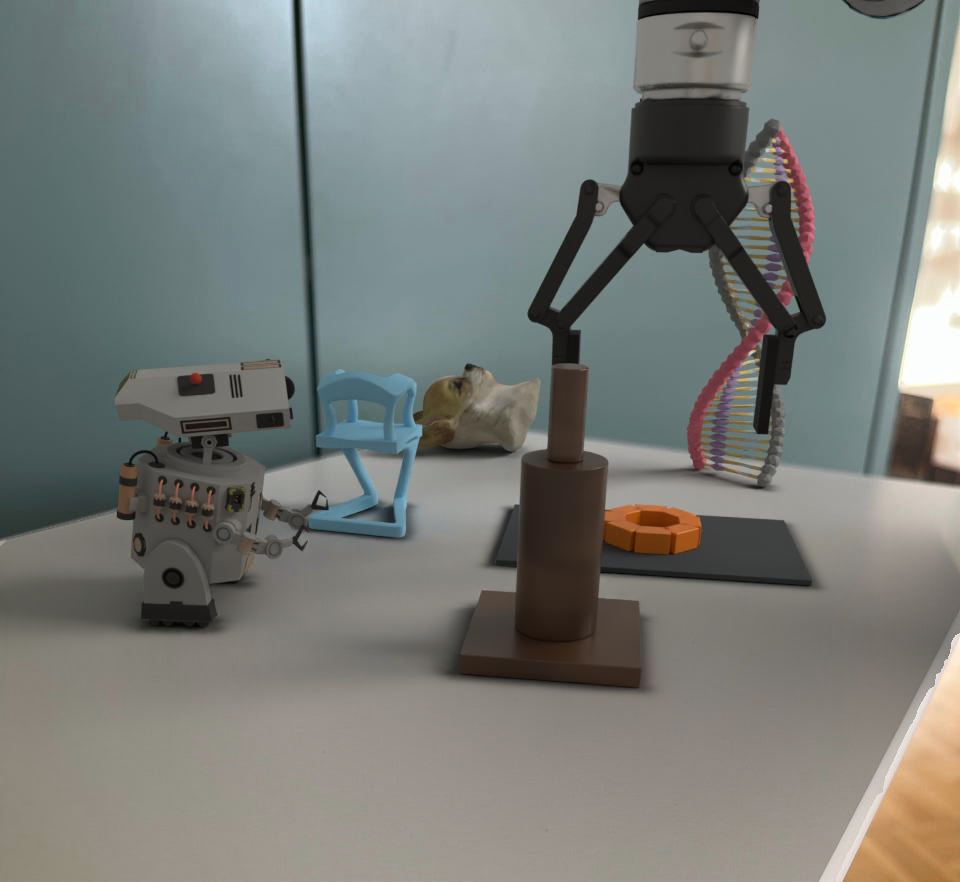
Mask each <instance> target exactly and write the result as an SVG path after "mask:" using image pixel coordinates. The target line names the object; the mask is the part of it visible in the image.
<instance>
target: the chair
mask: <svg viewBox="0 0 960 882" xmlns="http://www.w3.org/2000/svg"><path fill="white" fill-rule="evenodd" d="M417 386H418V382H417V381H415V380H414V379H413V378H412V377H409V376H406V375H404V374H402V373H399V372H397V373H393V374H392V375H390V376H380V375H378V374H377V375H376V374H375V373H374V374H373V373H370V372H366V371H362V370H350V371H345V370H344V369H342V368H340V369H336V370H333V371H330V372H328V373H327V374H325V375H324V376H323V377H322V378H321V379H320V382H319V383H318V386H317V388H316V391H317V393H318V396H319V399H320V402H321V405H322V407H323V411H324V414H325V426H324V430H323V431H322V432H319V433H318V434H316V435H315V446H316V448H323V449H340V450H341V452H342V453H343V455H344V457H345V459H346V460H347V462H348V464H349V466H350V468H351V469H352V472H353V473H354V475H355V477H356V479H357V481H358V484H359V485H360V487H361V489H362V490H363V494H361V495H360V496H357V497H354V498H352V499H349V500H347V501H344V502H341V503H337V504H335V505H331V506H328V507H329V510H317V511H316V512H313V513H310V514H309V515H308V528H309V529H312V530H319V531H328V532H336V533H337V532H338V533H349V534H356V535H357V534H358V535H367V536H375V537H376V536H377V537H386V538H397V539H400V538H403V537H404V536H406V532H407V515H406V512H407V511H406V510H407V507H408V501H407V500H408V499H407V495H408V490H409V485H410V481H411V478H412V472H413V467H414V463H415V459H416V456H417V455H416V454H417V450H418V448H419V447H418V443H419V439H420V437H421V436H422V425H418V424H415V422H414V419H413V414H414V413H413V411H414V403H415V400H416V396H417ZM405 394H407V396H406V398H405V401H404V404H403V407H402V412H401V416H402V422H403V423H395V411H396V408H397V407H396V406H397V405H398V403H399V402H400V401H401V399H402V398H403V396H404V395H405ZM339 401H346V402H347V413H346V414H347V415H346V418H345V419H343V420H342V421H340V422H338V419H337V418H338V417H337V414H336V411H335V410H334V407H333V405H332V402H339ZM358 401H365V402H370V403H374V404H376V405H377V404H378V405H381V406H383V407H385V412H384V416H383V422H375V421H371V420H363V419H359V407H358ZM412 413H413V414H412ZM358 449H359V450H367V451H372V452H374V453H375V452H376V453H382V454H393V455H398V454H399V453H400V452H402V460H401V466H400V470H399V475H398V479H397V483H396V487H395V491H394V495H393V501H392V502H393V503H392V504H393V518H394V522H386V521H385V522H384V521H375V520H374V521H373V520H366V519H356V518H355V519H354V518H345V517H348V516H352V515H354V514H357V513H360V512H362V511H365V510H368V509H370V508H372V507H375V506H377V505H378V504H379V494H378V491H377V488H376V487H375V485H374V483H373V481H372V479H371V477H370V475H369V473H368V471H367V469H366V468H365V466H364V465H365V464H364V463H363V462H362V459H361V457H360V455H359V452H358Z"/></svg>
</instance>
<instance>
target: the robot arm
mask: <svg viewBox="0 0 960 882" xmlns="http://www.w3.org/2000/svg"><path fill="white" fill-rule="evenodd" d="M760 1H761V0H638V8H637V21H636V24H635V25H636V26H635V28H636V29H635V43H634V44H635V45H634V48H635V49H634V60H633V61H634V63H633V79H632V80H633V81H632V89H633V91H635V93H637V94H640V95H641V98H639V101H638V102H635V103H634V107H632V108H631V111H630V127H629V128H630V129H629V131H630V132H629V145H628V147H629V148H628V161H627V162H628V163H627V174H626V178H625V179H624V181H623V183H622V185H617V184H609V183H602V182H597V181H596V180H594V179H591V178H590V179H586V180H584V181H583V182H582V183H581V185H580V188H579V192H578V193H579V195H578V200H577V208H576V214H575V217H574V219H573V220H572V222H571V224H570V226H569V228H568V230H567V232H566V234H565V237H564V239H563V240H562V243H561V244H560V246H559V248H558V249H557V250H558V251H557V252H556V254H555V256H554V258H553V260H552V262H551V264H550V266H549V268H548V270H547V272H546V274H545V276H544V278H543V279H542V281H541V284H540V286H539V288H538V290H537V291H536V293H535V296H534V298H533V300H532V301H531V303H530V306H529V307H528V309H527V312H526V315H527V318H528V320H529V321H530V322H531V323H534V324H538V325H541V326H543V327H546V328H547V329H549V331H550V332H551V336H552V343H551V344H552V345H551V366H552V365H555V364H562V363H571V364H580V363H581V362H580V361H581V360H580V359H581V339H582V337H581V336H582V330H581V329H572V326H573V325H574V324H575V323H576V321H577V320H578V319H579V318H580V317H581V315H582V314H583V313H584V312H585V311H586V310H587V309H588V307H590V305H591V304H592V303H593V302H594V301H595V299H597V297H599V295H600V294H601V293H602V292H603V290H604V289H605V288H606V287H607V286H608V285H609V283H610V282H611V281H612V280H613V279H614V278H615V277H616V276H617V274H618V273H619V272H620V271H621V270H622V269H623V268H624V266H625V265H626V264H628V262H629V261H630V260H631V258H633V257H634V256H635V254H636V253H638V251H639V250H640V248H642V247H643V245H645V246H646V248H648V249H649V250H651V251H653V252H655V253H666V254H667V253H672V252H675V251H679V250H680V251H683V252H687V253H690V254H703V253H704V252H707V251H709V249H711V248H712V247H713V246H714V245H716V246H717V248H718V249H719V250H720V252H721V253H722V255H723V256H724V257H723V258H724V260H726V262H728V263H729V264H730V266H729V267H731V269H732V270H733V272H735V273H736V274H737V276H736V277H738V278H739V281H742V283H743V284H744V285H743V286H744V287H745V288H746V290H748V291H749V293H750V294H751V295H750V294H749V295H750V296H751V297H752V298H753V301H756V302H757V304H758V305H759V307H760V308H759V307H758V308H759V309H760V310H762V311H763V312H764V314H765V315H766V317H767V318H768V319H769V321H770V322H771V324H772V327H773V328H774V329H775V331H774V334H768V333H767V334H763V339H762V341H761V342H762V343H761V344H762V351H761V359H760V368H759V372H758V376H757V377H758V381H757V386H756V387H757V390H756V394H755V395H756V399H755V407H754V411H753V413H754V416H753V425H752V427H753V430H755V431H756V433H757V434H756V435H765V436H766V435H768V436H769V434H768V431H770V430H769V429H770V425H769V422H771V416H770V414H771V411H772V410H771V406H772V397H773V389H774V385H780V386H787V385H788V383H789V381H790V379H791V376H792V368H793V360H794V352H795V345H796V344H795V343H796V340H797V338H799V336H800V335H802V334H804V333H807V332H810V331H812V330H819V329H821V328H823V327H824V326H825V324H826V322H827V316H826V312H825V310H824V307H823V303H822V301H821V298H820V295H819V293H818V290H817V287H816V284H815V281H814V279H813V276H812V273H811V269H810V268H809V264H807V262H806V259H805V256H804V253H803V250H802V247H801V245H800V242H799V239H798V237H799V235H798V233H797V231H796V230H795V228H796V227H795V225H794V222H792V219H791V218H792V212H791V208H792V203H791V199H792V192H791V189H792V188H791V186H790V183H788V182H786V181H775V182H773V183H767V184H760V185H752V186H748V185H747V182H745V180H744V174H743V169H744V158H745V151H746V146H747V137H748V126H749V118H750V117H749V116H750V107H749V106H748V104H747V102H746V101H742V100H741V99H742V94H745V93H747V92H748V91H749V90H750V89H751V88H752V86H753V85H752V84H753V75H754V73H753V72H754V63H755V62H754V61H755V54H756V53H755V52H756V41H757V30H758V20H759V17H760ZM841 1H842V3H844V4H845V5H846V6H847V7H848V8H849V9H850V10H852V11H853V12H855V13H857V14H859V15H862V16H865V17H867V18H869V19H874V20H875V19H876V20H890V19H896V18H899V17H902V16H905V15H907V14H909V13H910V12H913V11H914V10H915V9H916V10H917V8H919V7H921V6H922V5H923V4H924V3H925V2H926V1H927V0H841ZM617 202H619V204H620V207H621V208H622V210H623V212H624V213H625V215H626V216H627V218H628V220H629V222H630V223H631V225H632V226H631V228H630V229H628V231H627V232H626V233H625V235H624V236H623V237H622V238H621V239H620V241H618V242H617V244H615V247H614V248H613V249H612V250H611V251H610V252H609V254H608V255H607V256H606V257H605V258H604V259H603V260H602V262H601V263H600V264H599V265H598V266H597V267H596V268H595V270H594V271H593V272H592V273H591V274H590V275H589V276H588V278H587V279H585V281H584V282H583V283H582V285H581V286H580V287H579V288H578V289H577V290H576V291H575V293H574V294H573V295H572V296H571V297H570V298H569V300H568V301H567V302H566V303H565V305H564V306H563V307H562V308H561V309H557V308H555V307H553V306H552V303H553V301H554V300H555V298H556V295H557V294H558V291H559V290H560V287H561V286H562V284H563V282H564V280H565V278H566V276H567V274H568V272H569V270H570V268H571V266H572V264H573V263H574V260H575V259H576V257H577V255H578V253H579V251H580V249H581V247H582V246H583V243H584V242H585V240H586V237H587V235H588V233H589V231H590V230H591V228H592V225H593V222H594V220H595V217H603V216H604V215H606V213H607V212H608V209H609V207H610V206H611V205H612V204H613V203H617ZM748 204H751V205H753V207H756V210H757V211H756V214H757V215H758V216H759V217H762V218H768V221H767V223H768V227H770V230H771V231H770V233H771V236H773V239H774V241H775V243H774V244H776V247H777V250H778V254H779V255H780V258H781V265H782V266H784V269H785V270H784V272H785V274H786V277H788V280H789V283H790V286H791V288H792V291H793V294H794V296H793V297H794V299H795V302H796V305H797V307H798V310H799V311H798V312H795V313H790V312H789V311H788V309H787V308H786V306H785V307H784V305H783V304H782V302H781V301H780V300H779V298H778V297H777V295H776V294H777V293H776V292H775V291H774V289H772V288H771V287H770V285H769V284H768V282H769V281H767V280H765V278H764V277H763V275H762V274H763V273H762V272H761V271H760V268H757V267H756V265H755V264H756V263H755V262H754V260H753V258H750V257H749V255H748V254H749V253H748V252H747V251H746V248H743V246H742V245H743V244H742V243H741V242H740V239H737V237H736V236H737V235H735V233H734V231H733V230H731V229H730V226H732V225H733V223H734V222H735V221H736V220H735V219H736V218H737V217H738V218H739V216H740V214H741V213H742V212H743V211H742V210H743V209H744V208H745V207H746V206H747V205H748ZM747 253H748V254H747Z"/></svg>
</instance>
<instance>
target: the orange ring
mask: <svg viewBox="0 0 960 882" xmlns="http://www.w3.org/2000/svg"><path fill="white" fill-rule="evenodd" d="M607 510H608V511H605V516H604V530H603V541H605V542H606V543H608V544H611V545H614V546H616V547H619V548H621V549H624V550H626V551H632V550H634V552H635V553H647V554H663V555H668V554H669V552H670V553H672V554H677V553H681V552H684V551H688V550H692V549H696V548H697V546H699V544H700V536H701V522H700V518H699V517H696V515H697V514H695V513H692V512H688V511H685V510H682V509H679V508H676V507H674V506H672V507H668V506H667V505H658V504H657V505H655V504H641V503H639V504H637V503H636V504H634V505H632V504H627V505H623V506H617V507H614V508H610V509H607Z"/></svg>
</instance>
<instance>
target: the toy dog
mask: <svg viewBox="0 0 960 882" xmlns="http://www.w3.org/2000/svg"><path fill="white" fill-rule="evenodd" d="M540 389H541V379H540V378H538V377H536V378H534V379H532V380H528V381H523V382H519V383H517V384H513V385H506V384H502V383H500V382H498V381H497V380H496V378H494V376H493V374H492V373H491V372H490V371H489V370H485V368H484V367H482V366H478V365H476V364H472V363H469V362H468V363H466V364H465V365H464V368H463V371H462V375H445V376H442V377H440V378H438V379H436V380H435V381H434V382H433V383H431V384H430V386H429V387H428V388H427V390H426V391H425V392H424V396H423V400H422V410H419V411H416V412H414V413H413V412H412V414H413V419H414V422H415V424H418V425H422V436H421V437H420V439H419V443H418V447H417V448H433V447H439V446H442V447H444V448H446V449H450V450H451V449H452V450H455V449H456V450H468V449H473V448H476V447H480V446H481V445H487V444H498V445H500V446H501V447H502V448H503V449H504V450H505V451H508V452H515V451H519V450H520V449H521V448H522V447H523V446H524V444H525V442H526V438H527V435H528V433H529V429H530V427H531V425H532V423H533V421H534V420H535V419H536V415H537V409H538V401H539V397H540Z"/></svg>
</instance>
